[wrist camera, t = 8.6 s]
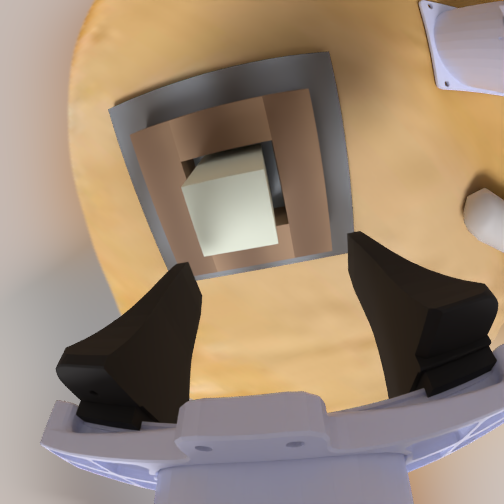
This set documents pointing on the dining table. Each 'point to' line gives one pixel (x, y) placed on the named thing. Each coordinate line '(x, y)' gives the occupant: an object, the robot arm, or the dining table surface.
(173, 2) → the dining table surface
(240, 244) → the peg
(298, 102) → the socket
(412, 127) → the dining table surface
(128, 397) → the robot arm
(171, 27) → the dining table surface
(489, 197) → the tube
